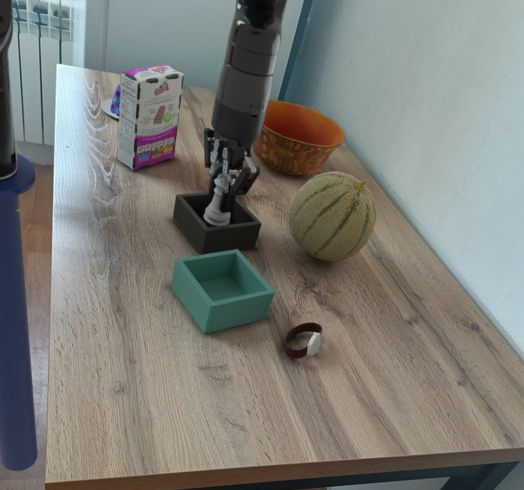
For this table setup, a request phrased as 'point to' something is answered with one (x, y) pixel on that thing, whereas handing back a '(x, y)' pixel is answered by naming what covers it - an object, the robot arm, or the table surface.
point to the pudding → (112, 104)
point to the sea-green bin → (221, 290)
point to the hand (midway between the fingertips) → (219, 204)
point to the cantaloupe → (332, 216)
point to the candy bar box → (148, 115)
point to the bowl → (296, 138)
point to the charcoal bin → (207, 236)
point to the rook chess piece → (217, 206)
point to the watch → (312, 344)
